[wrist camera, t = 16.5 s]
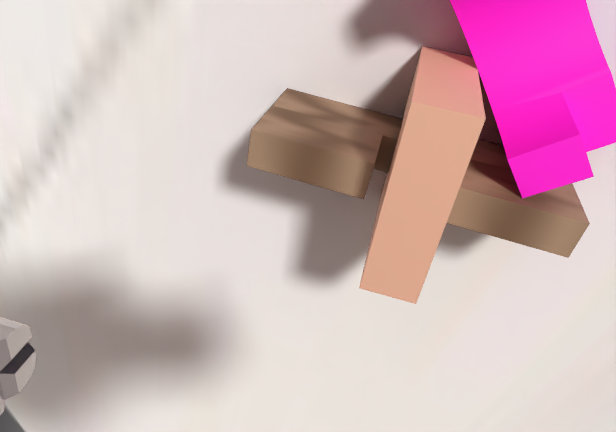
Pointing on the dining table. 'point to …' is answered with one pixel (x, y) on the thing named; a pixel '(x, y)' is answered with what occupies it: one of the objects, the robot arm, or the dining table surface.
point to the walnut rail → (379, 153)
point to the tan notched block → (424, 173)
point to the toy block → (542, 85)
